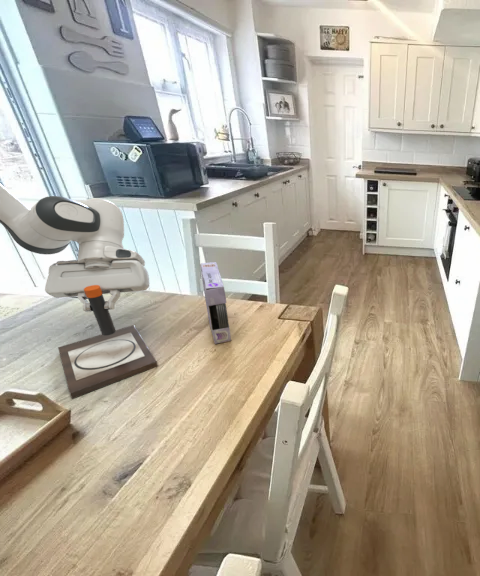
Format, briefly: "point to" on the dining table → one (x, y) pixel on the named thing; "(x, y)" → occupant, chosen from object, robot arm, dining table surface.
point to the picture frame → (104, 360)
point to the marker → (100, 309)
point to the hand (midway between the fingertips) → (99, 310)
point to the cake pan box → (215, 302)
